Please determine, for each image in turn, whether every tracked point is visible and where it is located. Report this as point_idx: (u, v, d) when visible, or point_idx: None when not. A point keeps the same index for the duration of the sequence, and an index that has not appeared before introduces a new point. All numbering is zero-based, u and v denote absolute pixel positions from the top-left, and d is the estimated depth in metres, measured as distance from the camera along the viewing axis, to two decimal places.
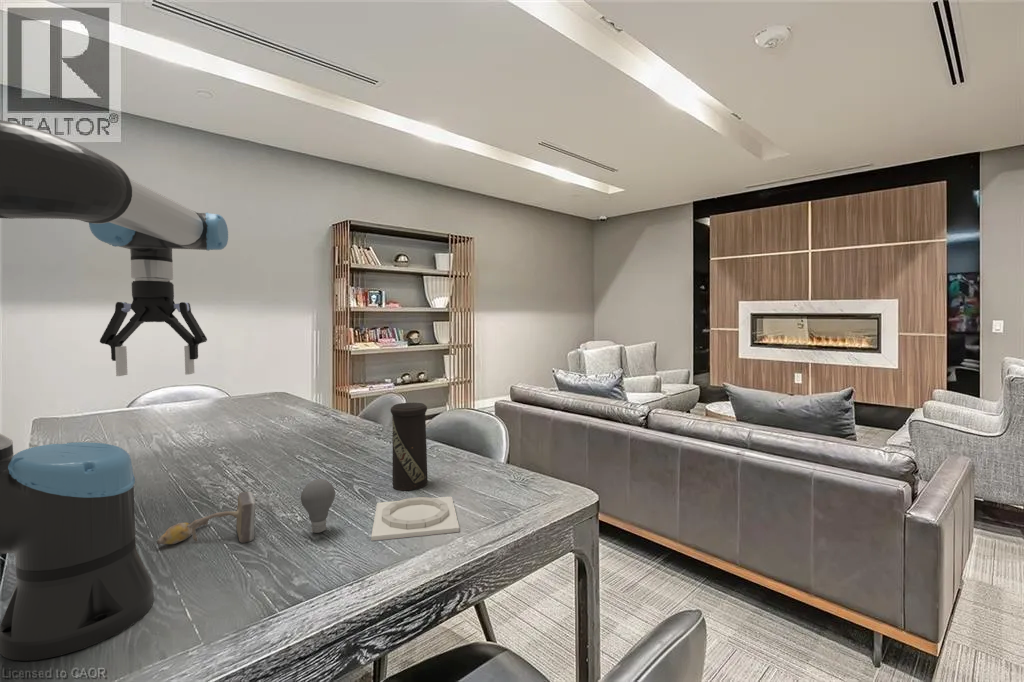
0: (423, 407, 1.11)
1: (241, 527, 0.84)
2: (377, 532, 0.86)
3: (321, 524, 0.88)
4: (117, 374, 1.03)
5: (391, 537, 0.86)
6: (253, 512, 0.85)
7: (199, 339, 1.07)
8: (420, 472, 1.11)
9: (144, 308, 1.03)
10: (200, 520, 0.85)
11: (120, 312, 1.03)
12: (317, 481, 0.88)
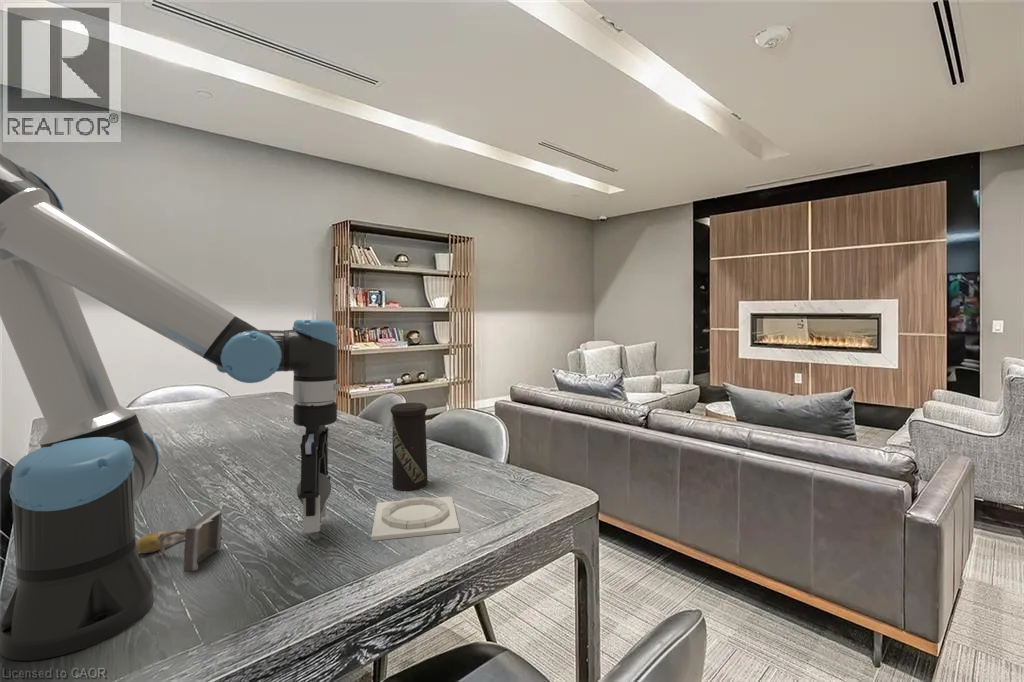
0: (423, 407, 1.11)
1: (184, 553, 0.75)
2: (377, 532, 0.86)
3: None
4: None
5: (391, 537, 0.86)
6: (196, 539, 0.75)
7: (301, 494, 0.82)
8: (420, 472, 1.11)
9: None
10: (164, 534, 0.79)
11: None
12: None
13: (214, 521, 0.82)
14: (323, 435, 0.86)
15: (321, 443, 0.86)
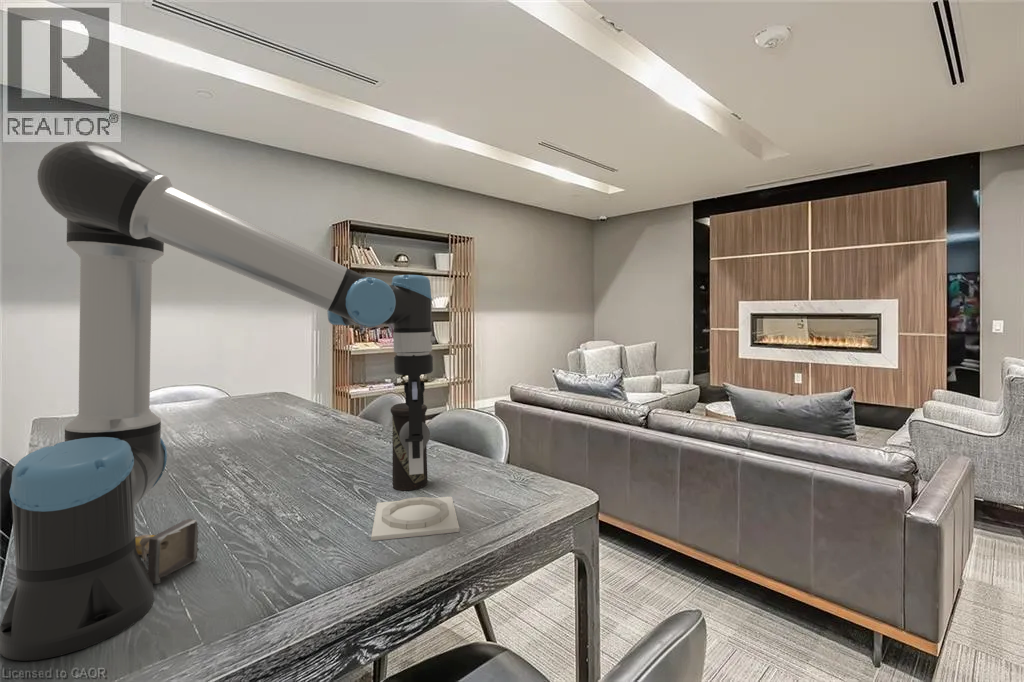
0: (423, 407, 1.11)
1: None
2: (377, 532, 0.86)
3: None
4: None
5: (391, 537, 0.86)
6: (158, 550, 0.71)
7: (409, 437, 0.88)
8: None
9: (404, 383, 0.94)
10: (144, 540, 0.77)
11: None
12: None
13: (191, 531, 0.78)
14: (422, 384, 0.92)
15: (421, 391, 0.91)
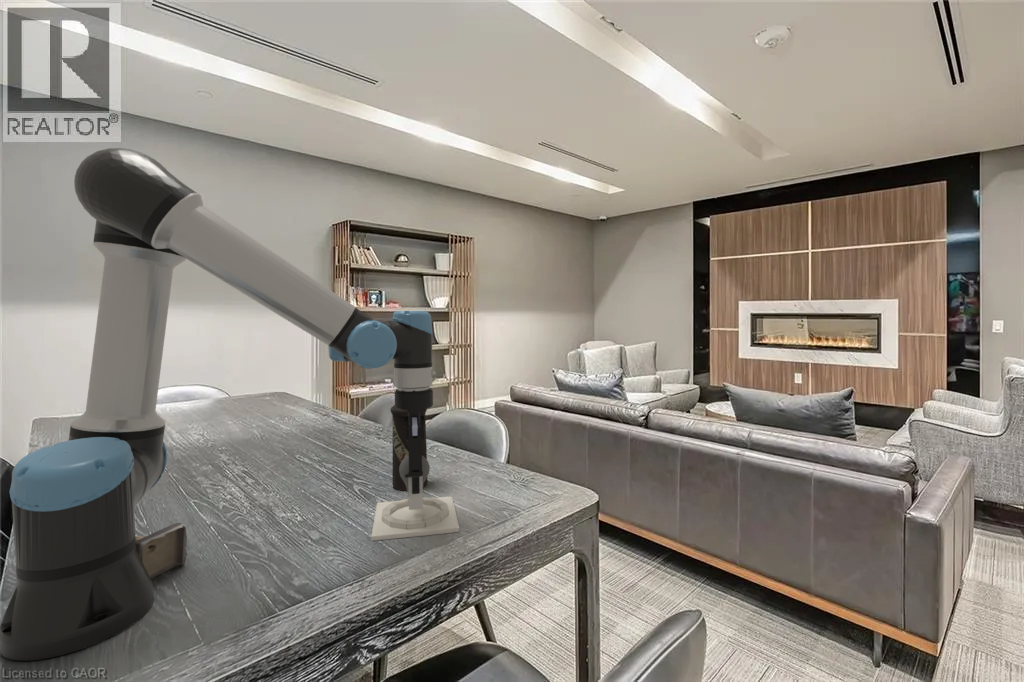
0: None
1: None
2: (377, 532, 0.86)
3: None
4: None
5: (391, 537, 0.86)
6: (141, 555, 0.70)
7: (408, 473, 0.88)
8: None
9: (404, 417, 0.94)
10: None
11: None
12: None
13: (180, 535, 0.77)
14: (423, 418, 0.92)
15: (422, 426, 0.92)
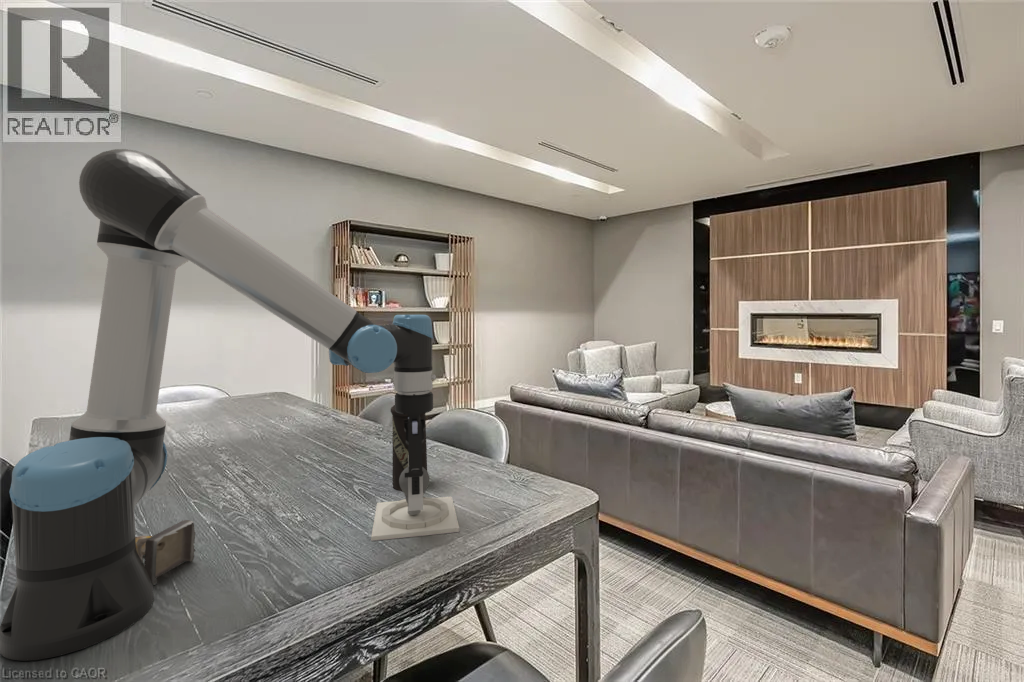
0: None
1: None
2: (377, 532, 0.86)
3: None
4: None
5: (391, 537, 0.86)
6: (154, 552, 0.71)
7: (408, 473, 0.84)
8: None
9: (404, 422, 0.94)
10: (140, 541, 0.77)
11: None
12: None
13: (188, 532, 0.78)
14: (423, 421, 0.93)
15: (422, 428, 0.92)
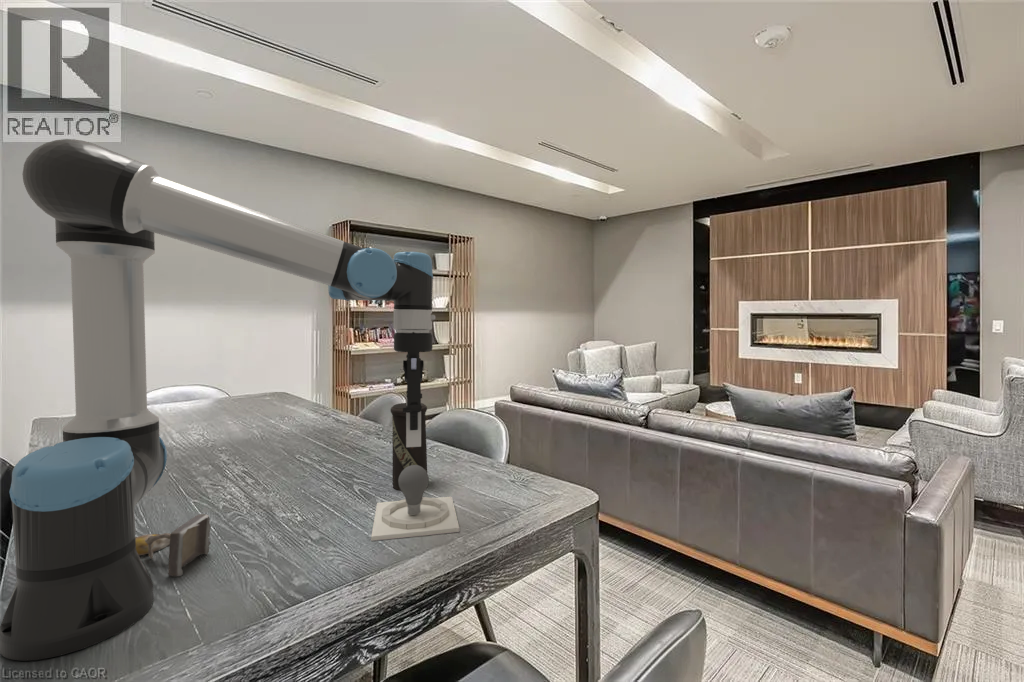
0: (423, 407, 1.11)
1: (169, 558, 0.73)
2: (377, 532, 0.86)
3: (417, 507, 0.94)
4: None
5: (391, 537, 0.86)
6: (181, 544, 0.73)
7: (406, 406, 0.84)
8: None
9: (403, 362, 0.93)
10: (152, 538, 0.78)
11: None
12: (413, 467, 0.93)
13: (202, 526, 0.80)
14: (422, 361, 0.92)
15: (421, 367, 0.91)
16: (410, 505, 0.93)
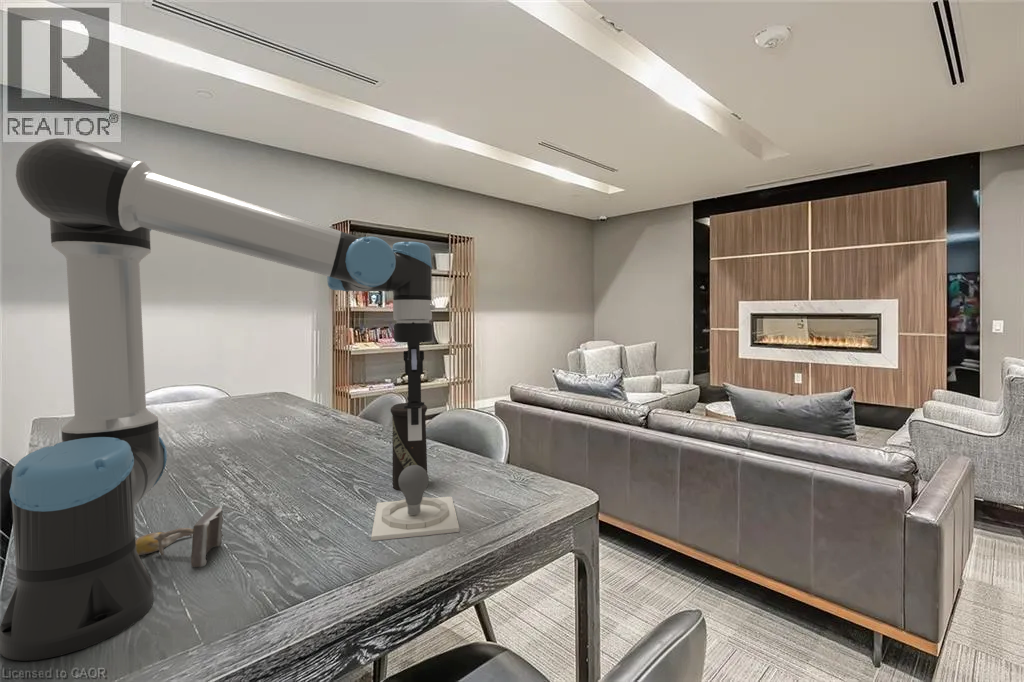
0: (423, 407, 1.11)
1: (192, 550, 0.76)
2: (377, 532, 0.86)
3: (417, 507, 0.94)
4: None
5: (391, 537, 0.86)
6: (205, 535, 0.76)
7: (408, 403, 0.90)
8: None
9: None
10: (164, 534, 0.79)
11: None
12: (413, 467, 0.93)
13: (214, 519, 0.83)
14: (422, 353, 0.92)
15: (421, 360, 0.91)
16: (410, 505, 0.93)
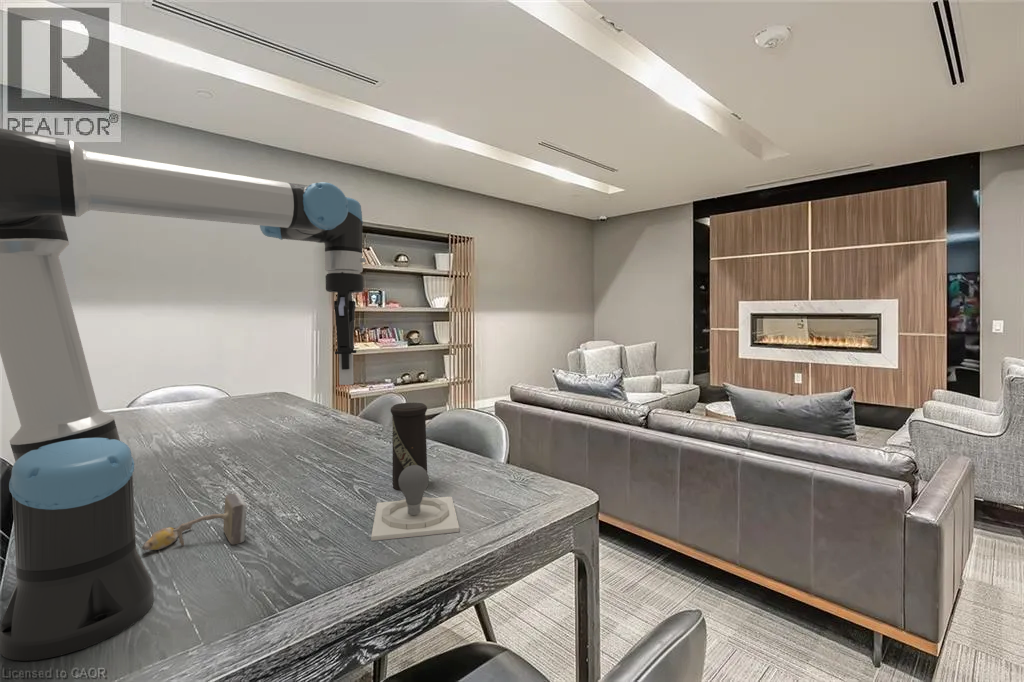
0: (423, 407, 1.11)
1: (232, 529, 0.83)
2: (377, 532, 0.86)
3: (417, 507, 0.94)
4: None
5: (391, 537, 0.86)
6: (244, 513, 0.85)
7: None
8: None
9: None
10: (187, 524, 0.83)
11: None
12: (413, 467, 0.93)
13: None
14: (352, 302, 0.98)
15: (351, 308, 0.98)
16: (410, 505, 0.93)
